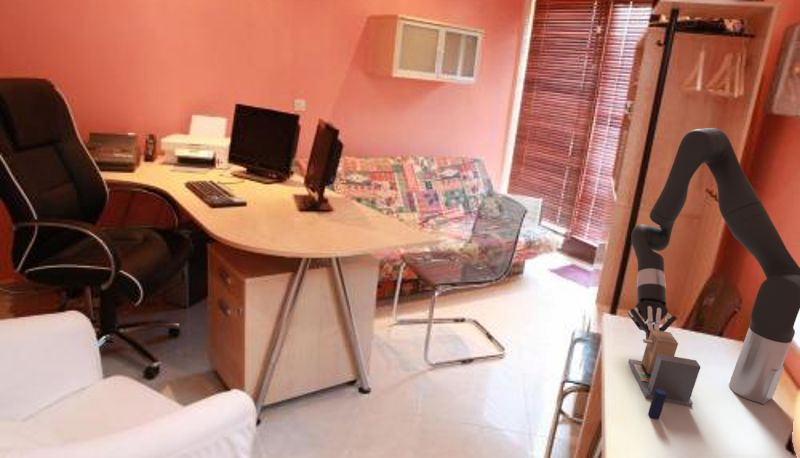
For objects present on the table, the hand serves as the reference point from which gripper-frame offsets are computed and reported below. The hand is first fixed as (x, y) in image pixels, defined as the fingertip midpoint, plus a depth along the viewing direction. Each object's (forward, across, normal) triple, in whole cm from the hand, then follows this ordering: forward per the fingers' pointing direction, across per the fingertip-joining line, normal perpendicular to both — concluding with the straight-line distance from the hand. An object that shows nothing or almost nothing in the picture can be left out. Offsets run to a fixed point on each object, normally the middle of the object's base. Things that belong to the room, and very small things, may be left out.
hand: (652, 345), depth 148 cm
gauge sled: (+7, -1, -1) cm, 7 cm away
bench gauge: (+11, 0, -3) cm, 11 cm away
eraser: (+22, -6, -14) cm, 27 cm away
